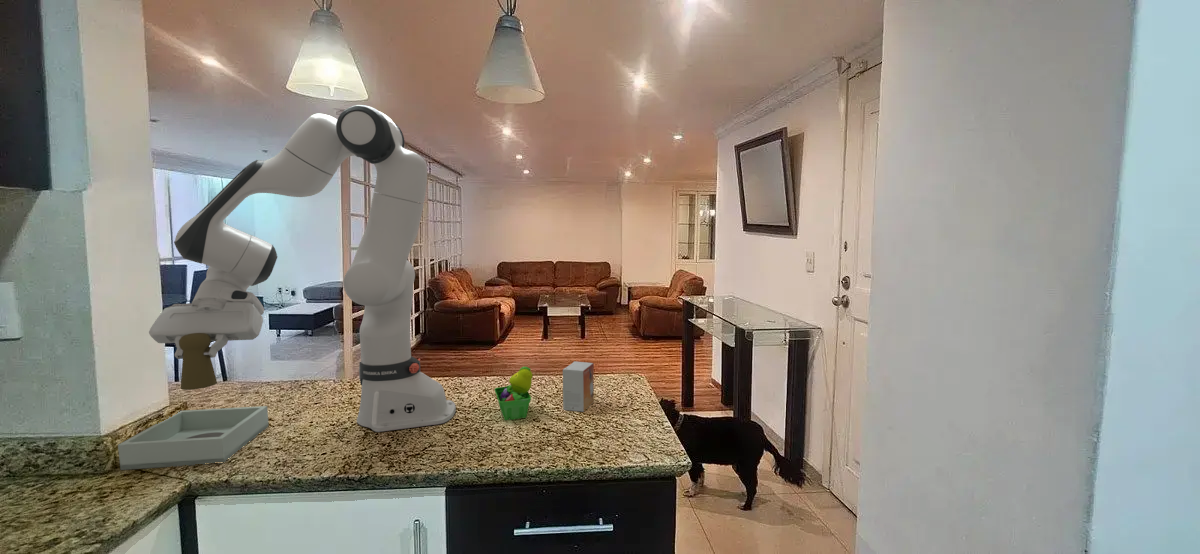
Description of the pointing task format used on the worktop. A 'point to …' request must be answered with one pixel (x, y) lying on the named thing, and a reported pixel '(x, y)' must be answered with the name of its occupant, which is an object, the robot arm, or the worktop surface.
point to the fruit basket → (515, 395)
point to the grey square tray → (193, 438)
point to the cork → (196, 362)
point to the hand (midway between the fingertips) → (194, 356)
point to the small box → (578, 386)
